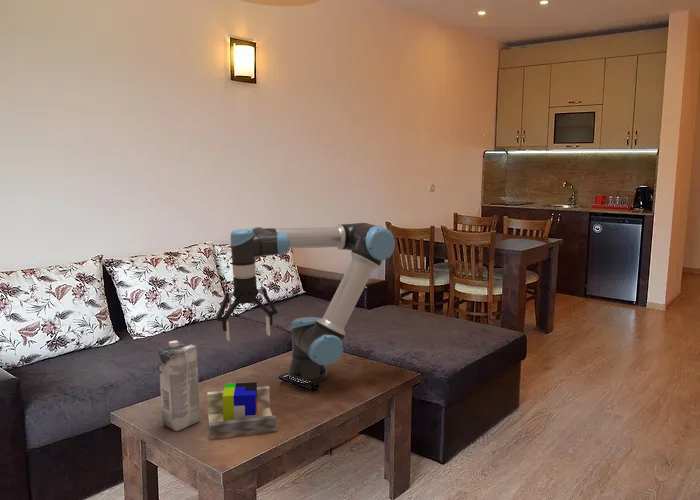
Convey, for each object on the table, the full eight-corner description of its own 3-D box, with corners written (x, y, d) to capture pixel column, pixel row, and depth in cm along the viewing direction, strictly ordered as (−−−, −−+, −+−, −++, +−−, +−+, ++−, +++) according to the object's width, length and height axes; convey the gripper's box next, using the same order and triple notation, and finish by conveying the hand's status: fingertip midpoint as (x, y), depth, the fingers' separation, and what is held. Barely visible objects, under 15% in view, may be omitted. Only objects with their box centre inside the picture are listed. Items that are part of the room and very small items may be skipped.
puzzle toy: (256, 425, 183) (255, 394, 181) (223, 426, 182) (222, 396, 180) (257, 411, 193) (256, 382, 191) (226, 412, 192) (225, 383, 190)
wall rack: (269, 408, 197) (268, 386, 196) (276, 431, 181) (275, 407, 180) (208, 415, 192) (207, 392, 191) (210, 439, 176) (209, 414, 175)
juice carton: (203, 421, 188) (200, 341, 183) (176, 434, 179) (171, 350, 175) (186, 414, 193) (182, 335, 188) (158, 425, 185) (154, 344, 180)
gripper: (279, 270, 201) (282, 329, 205) (205, 277, 194) (209, 338, 198) (283, 274, 194) (287, 335, 198) (207, 282, 187) (212, 345, 191)
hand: (248, 337), depth 198 cm, fingers open, 13 cm apart
